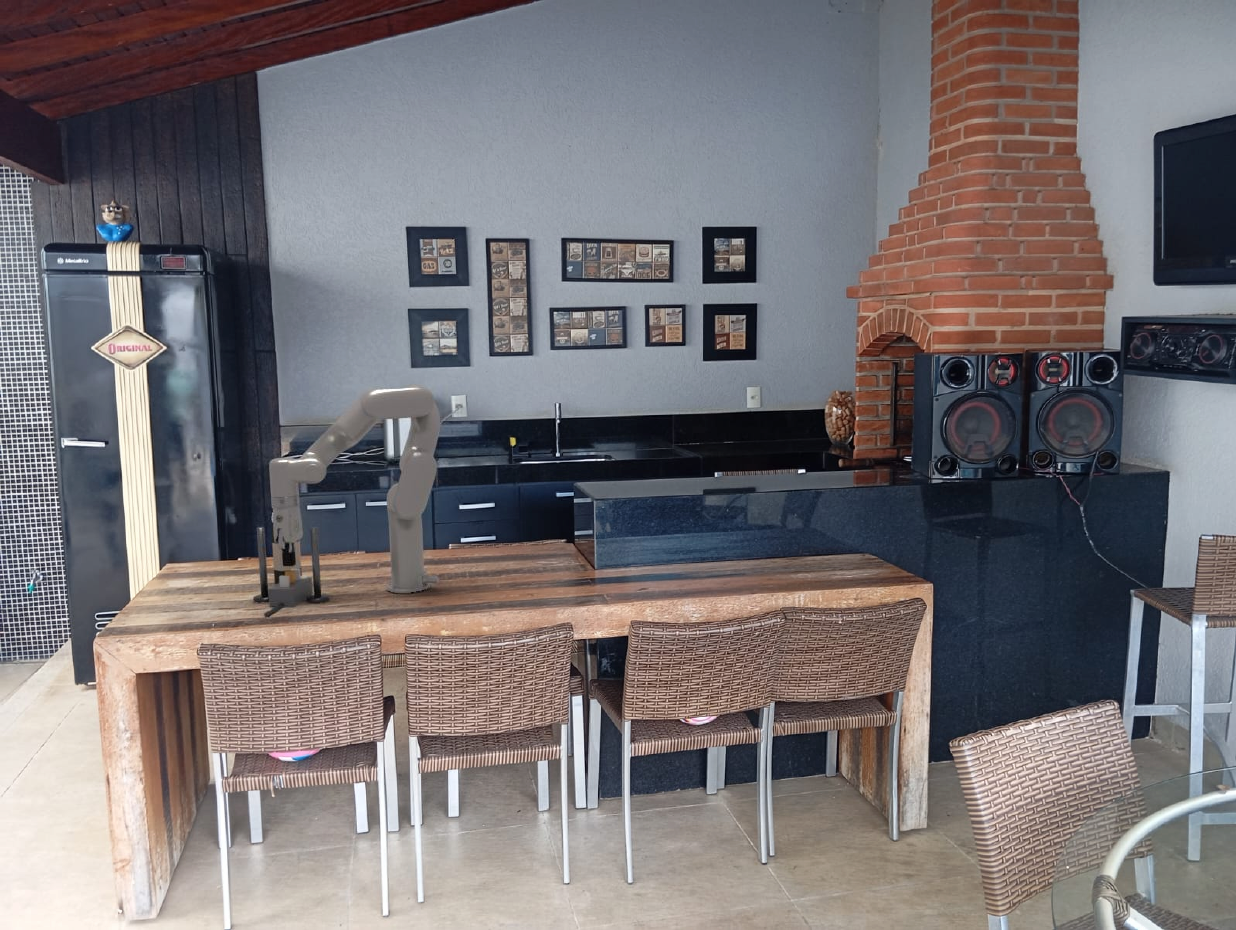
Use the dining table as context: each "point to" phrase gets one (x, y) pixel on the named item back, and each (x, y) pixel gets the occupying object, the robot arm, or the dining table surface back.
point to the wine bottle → (278, 562)
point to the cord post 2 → (316, 570)
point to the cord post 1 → (262, 567)
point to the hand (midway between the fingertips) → (289, 565)
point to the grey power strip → (289, 592)
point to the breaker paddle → (290, 576)
